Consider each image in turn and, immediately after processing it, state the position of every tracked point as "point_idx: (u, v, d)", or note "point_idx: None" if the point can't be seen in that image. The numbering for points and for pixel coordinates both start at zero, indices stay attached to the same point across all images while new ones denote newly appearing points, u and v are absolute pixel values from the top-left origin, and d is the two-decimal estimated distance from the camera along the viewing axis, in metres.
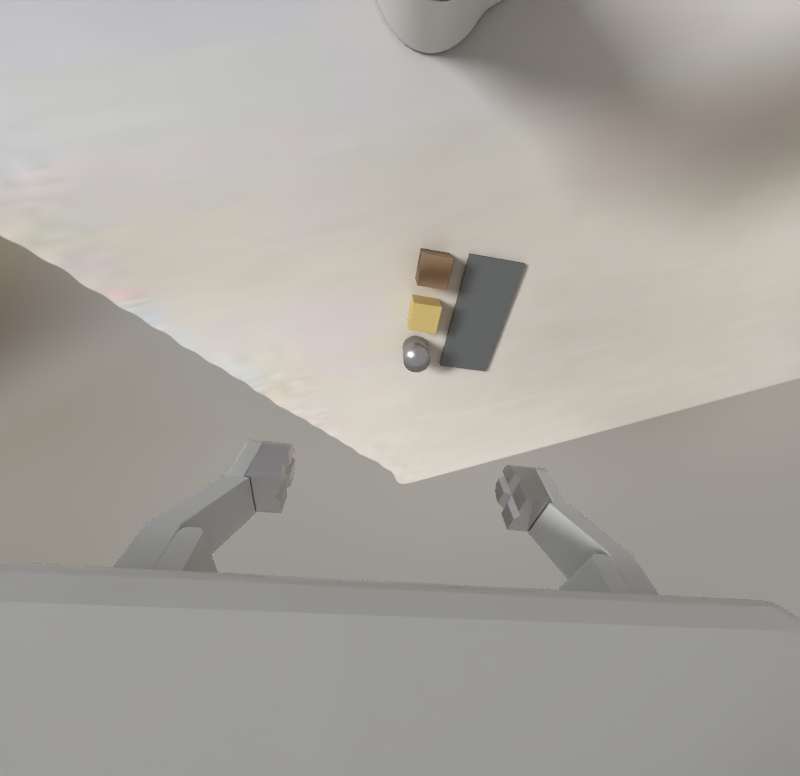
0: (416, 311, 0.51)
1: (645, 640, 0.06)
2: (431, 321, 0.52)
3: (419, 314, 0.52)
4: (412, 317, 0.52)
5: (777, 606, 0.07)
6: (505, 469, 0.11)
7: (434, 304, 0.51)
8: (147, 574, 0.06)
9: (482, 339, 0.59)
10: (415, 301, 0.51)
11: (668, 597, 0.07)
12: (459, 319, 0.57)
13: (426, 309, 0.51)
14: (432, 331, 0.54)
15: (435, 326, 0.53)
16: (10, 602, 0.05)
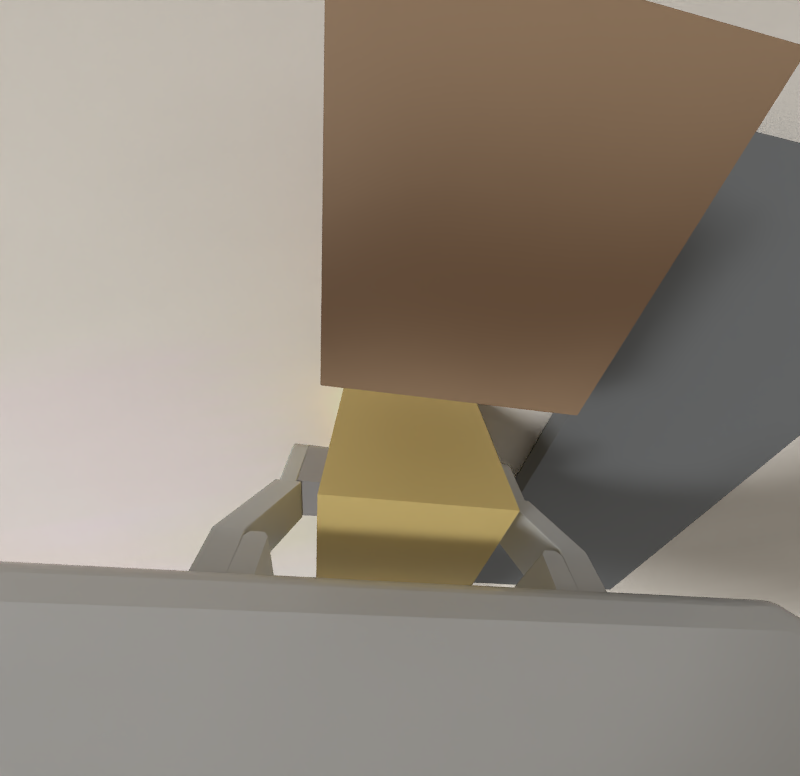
0: (345, 530, 0.08)
1: (645, 640, 0.06)
2: (441, 563, 0.09)
3: (366, 542, 0.08)
4: (324, 553, 0.08)
5: (777, 606, 0.07)
6: None
7: (463, 485, 0.08)
8: (147, 574, 0.06)
9: (633, 526, 0.15)
10: (337, 464, 0.08)
11: (668, 597, 0.07)
12: (561, 474, 0.13)
13: (410, 521, 0.08)
14: None
15: (465, 577, 0.09)
16: (10, 602, 0.05)
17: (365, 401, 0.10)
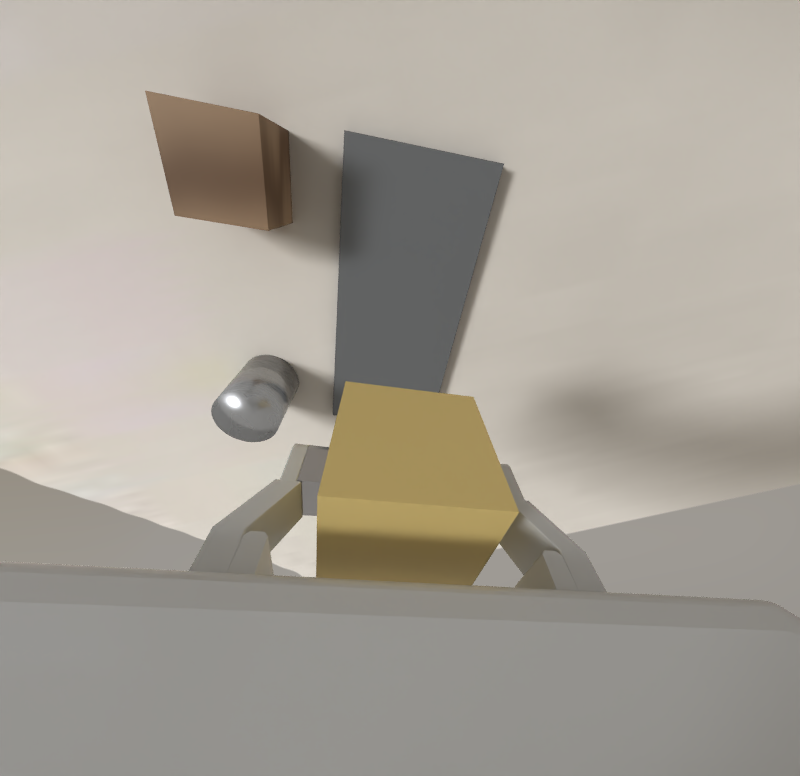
0: (344, 531, 0.08)
1: (645, 640, 0.06)
2: (441, 563, 0.09)
3: (366, 543, 0.08)
4: (324, 555, 0.08)
5: (777, 606, 0.07)
6: None
7: (463, 486, 0.08)
8: (147, 574, 0.06)
9: (414, 362, 0.26)
10: (337, 466, 0.08)
11: (668, 597, 0.07)
12: (353, 318, 0.24)
13: (409, 523, 0.08)
14: None
15: (465, 578, 0.09)
16: (10, 602, 0.05)
17: (365, 402, 0.10)
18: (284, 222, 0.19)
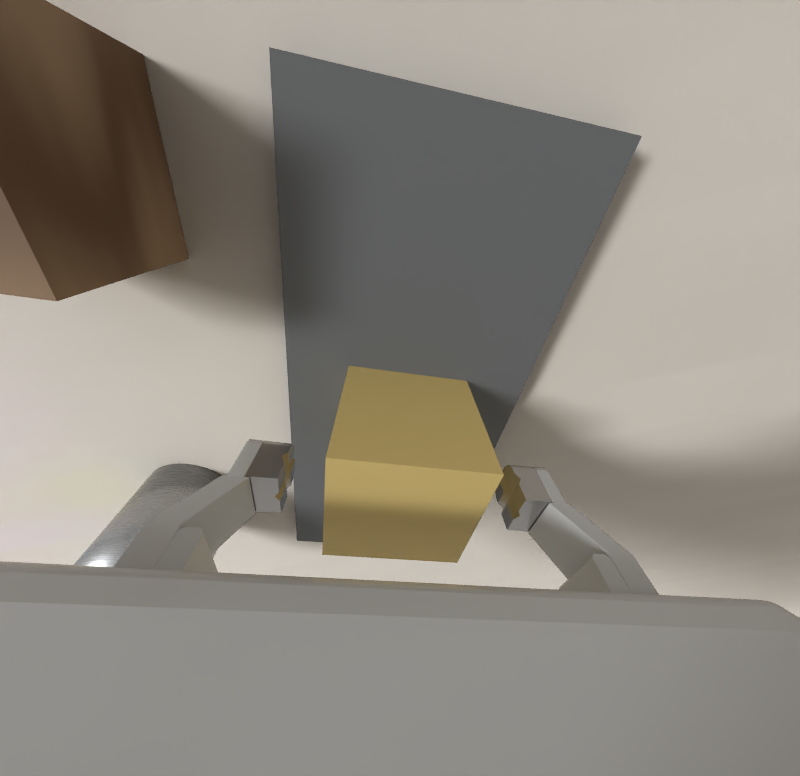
0: (349, 493, 0.09)
1: (645, 640, 0.06)
2: (435, 526, 0.10)
3: (368, 505, 0.09)
4: (330, 516, 0.09)
5: (777, 606, 0.07)
6: (505, 469, 0.11)
7: (455, 453, 0.09)
8: (147, 574, 0.06)
9: None
10: (342, 435, 0.09)
11: (668, 597, 0.07)
12: (319, 419, 0.13)
13: (407, 485, 0.08)
14: (441, 557, 0.11)
15: (457, 542, 0.10)
16: (10, 602, 0.05)
17: (367, 384, 0.11)
18: (151, 263, 0.09)
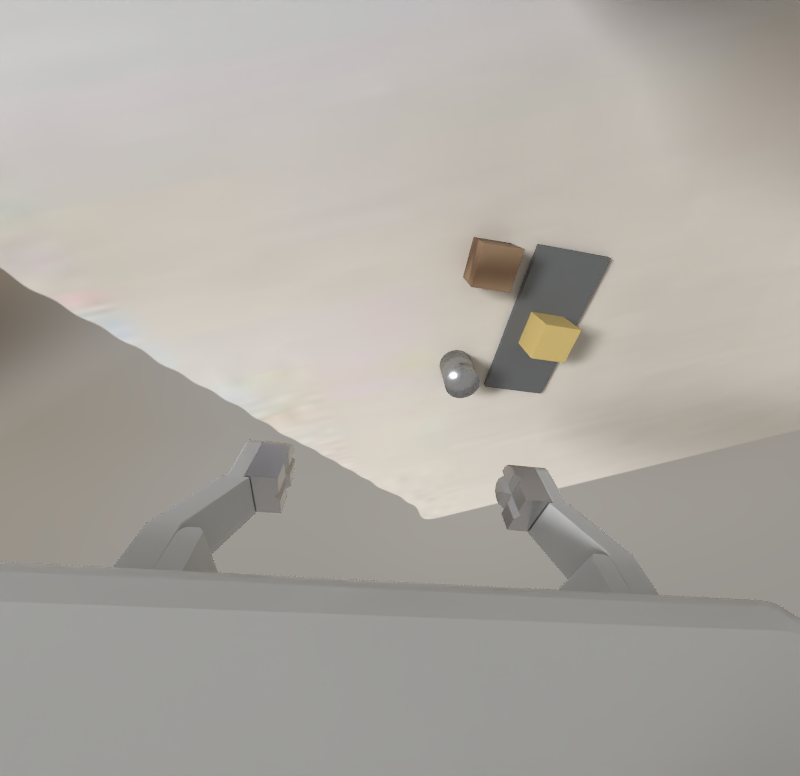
0: (547, 335, 0.39)
1: (645, 640, 0.06)
2: (562, 347, 0.40)
3: (549, 339, 0.39)
4: (539, 343, 0.40)
5: (777, 606, 0.07)
6: (505, 469, 0.11)
7: (570, 326, 0.39)
8: (147, 574, 0.06)
9: None
10: (545, 322, 0.39)
11: (668, 597, 0.07)
12: (516, 330, 0.44)
13: (560, 333, 0.39)
14: (560, 360, 0.41)
15: (566, 354, 0.41)
16: (10, 602, 0.05)
17: (540, 315, 0.42)
18: None
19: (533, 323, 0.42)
